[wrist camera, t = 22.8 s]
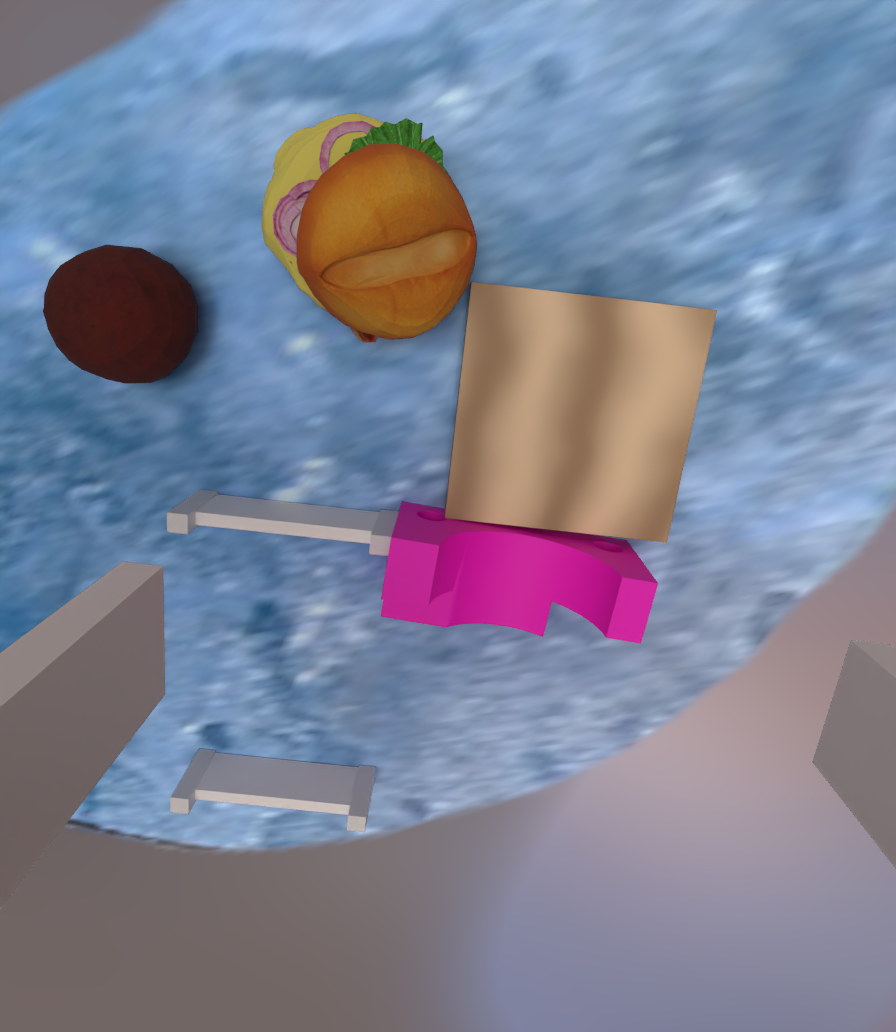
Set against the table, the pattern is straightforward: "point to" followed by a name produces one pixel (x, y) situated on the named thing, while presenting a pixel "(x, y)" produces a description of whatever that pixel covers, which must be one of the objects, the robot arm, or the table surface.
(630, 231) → the table surface
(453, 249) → the cheeseburger
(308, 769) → the grey bracket pieces
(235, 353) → the table surface
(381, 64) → the table surface
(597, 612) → the toy block
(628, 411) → the board
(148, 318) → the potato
